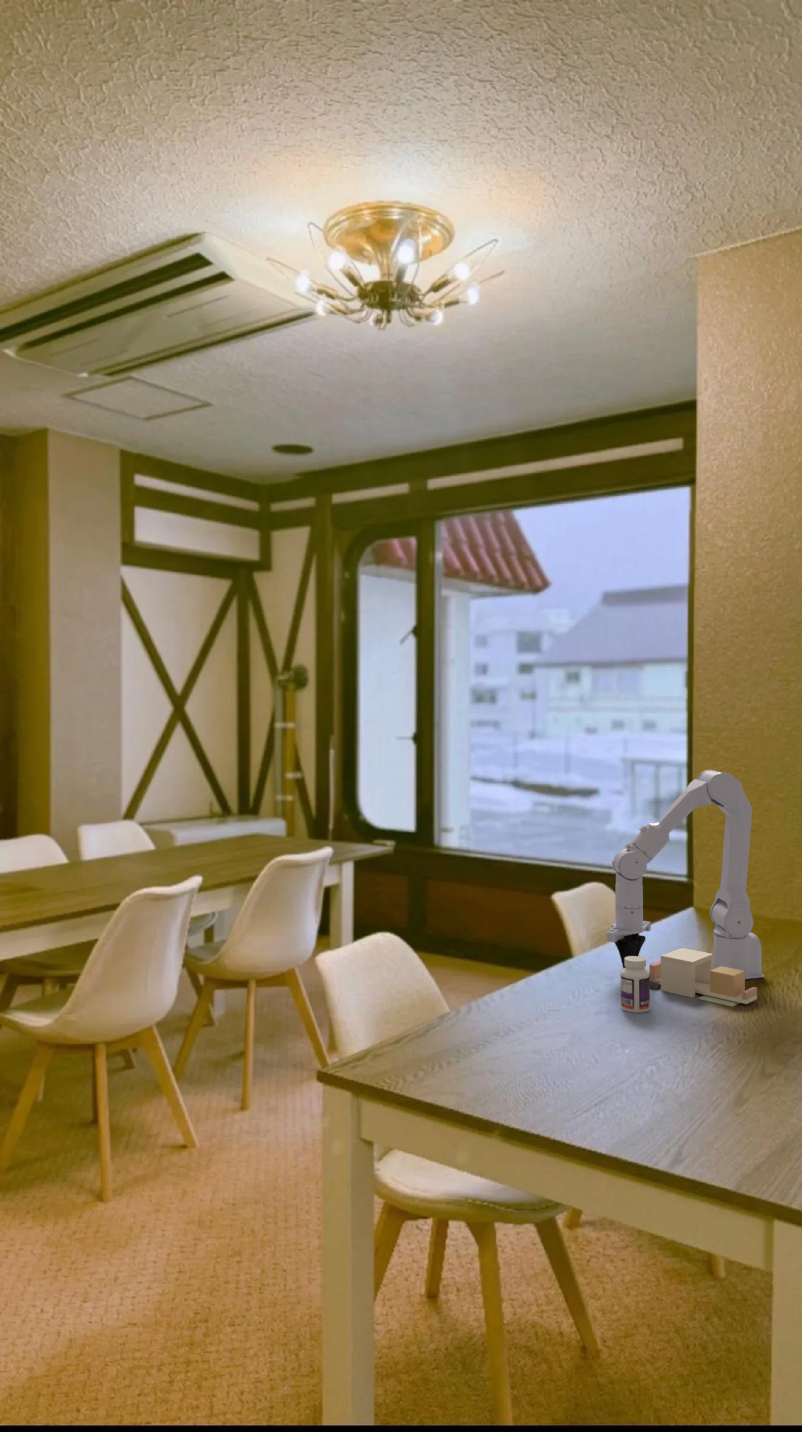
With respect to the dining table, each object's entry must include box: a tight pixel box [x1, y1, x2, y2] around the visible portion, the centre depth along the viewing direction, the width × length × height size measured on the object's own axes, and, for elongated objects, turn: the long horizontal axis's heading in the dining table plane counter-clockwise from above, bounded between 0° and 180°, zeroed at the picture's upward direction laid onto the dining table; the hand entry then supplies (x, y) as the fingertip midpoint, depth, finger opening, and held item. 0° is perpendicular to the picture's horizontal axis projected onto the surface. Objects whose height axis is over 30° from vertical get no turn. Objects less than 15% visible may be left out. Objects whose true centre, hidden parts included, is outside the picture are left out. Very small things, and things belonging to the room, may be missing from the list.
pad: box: [698, 994, 740, 1008], centre depth 189 cm, size 9×7×1 cm
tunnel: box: [660, 947, 714, 998], centre depth 195 cm, size 9×7×7 cm
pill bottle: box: [620, 955, 651, 1014], centre depth 183 cm, size 5×5×10 cm
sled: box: [648, 960, 758, 1005], centre depth 193 cm, size 5×21×5 cm, turn 45°
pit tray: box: [650, 981, 661, 990], centre depth 200 cm, size 9×5×1 cm, turn 135°
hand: (629, 969), depth 205 cm, fingers closed
